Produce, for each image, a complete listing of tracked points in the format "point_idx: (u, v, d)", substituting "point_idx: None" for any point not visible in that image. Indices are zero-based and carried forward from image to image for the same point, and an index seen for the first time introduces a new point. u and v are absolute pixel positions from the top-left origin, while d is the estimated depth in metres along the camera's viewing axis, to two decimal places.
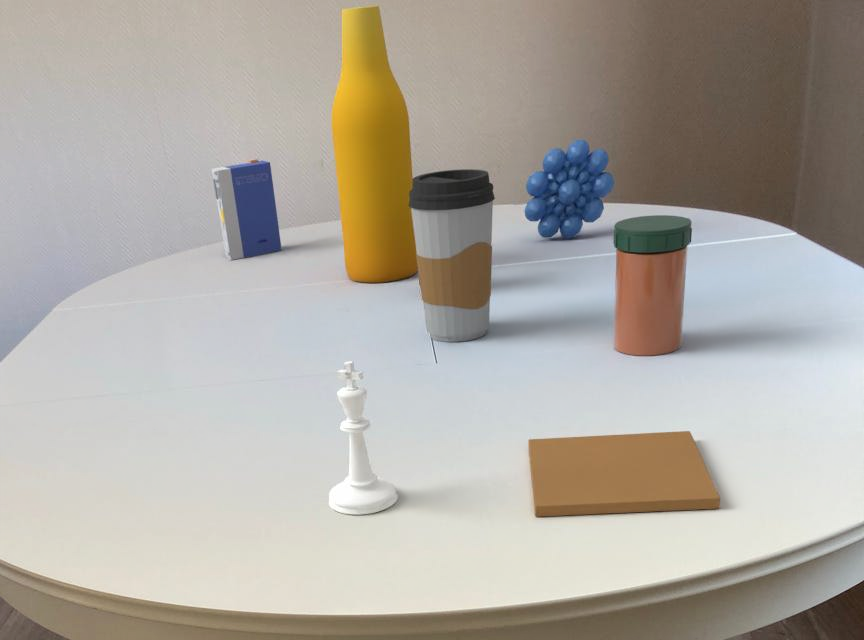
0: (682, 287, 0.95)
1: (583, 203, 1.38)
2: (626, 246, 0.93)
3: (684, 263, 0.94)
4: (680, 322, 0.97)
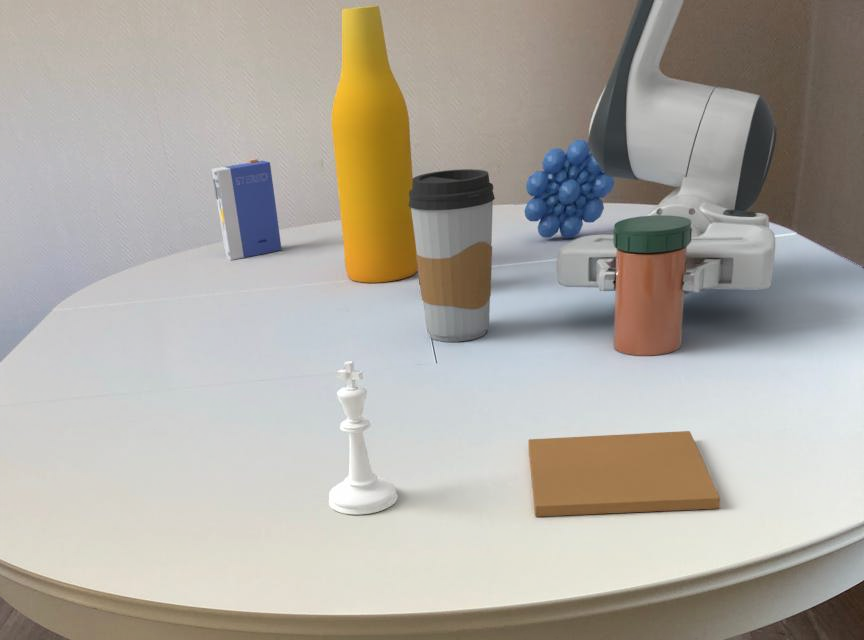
0: None
1: (583, 203, 1.38)
2: (626, 246, 0.93)
3: (684, 263, 0.94)
4: (680, 322, 0.97)
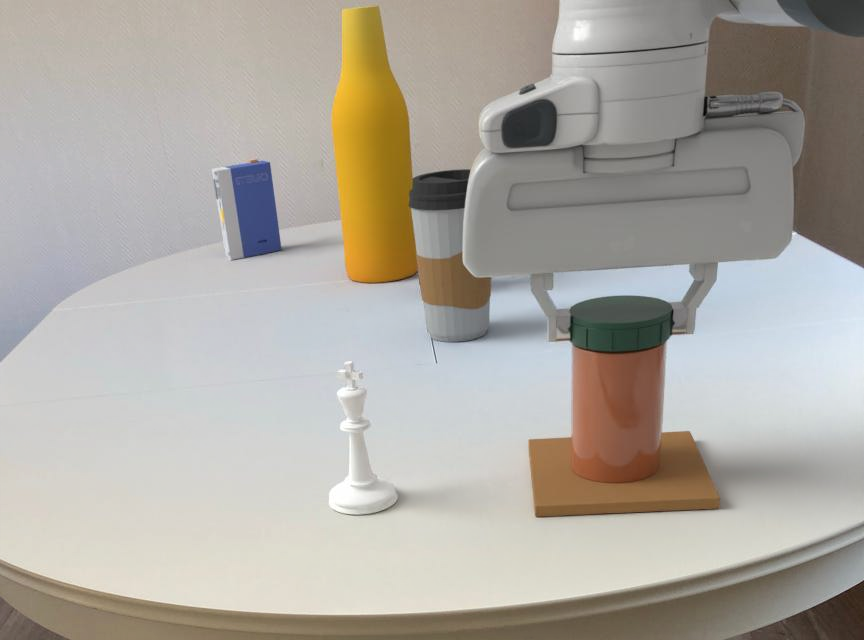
0: (660, 394, 0.70)
1: None
2: (583, 341, 0.68)
3: (663, 363, 0.69)
4: (658, 439, 0.72)
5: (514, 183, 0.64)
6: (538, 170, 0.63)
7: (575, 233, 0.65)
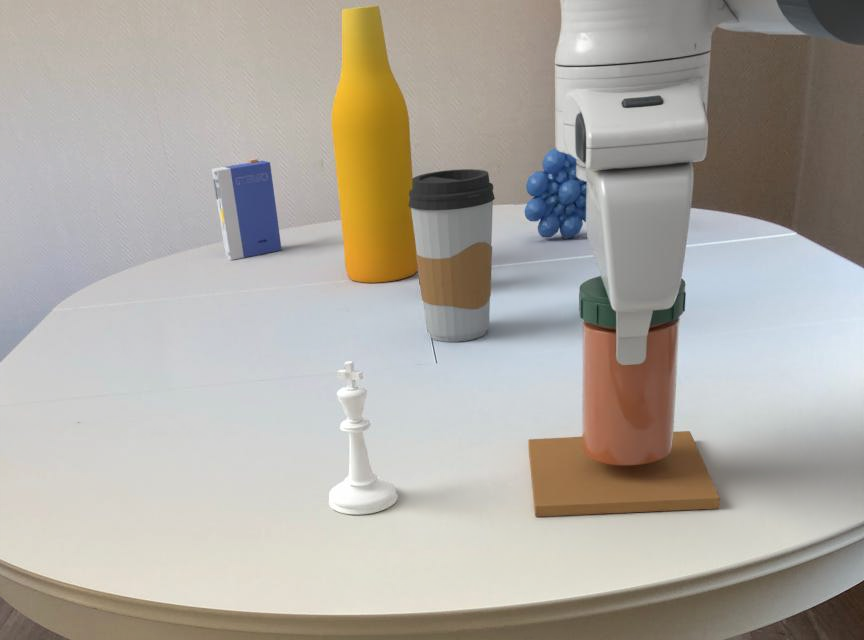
0: (673, 375, 0.69)
1: (583, 203, 1.38)
2: (670, 314, 0.66)
3: (675, 343, 0.68)
4: (671, 420, 0.71)
5: None
6: None
7: None
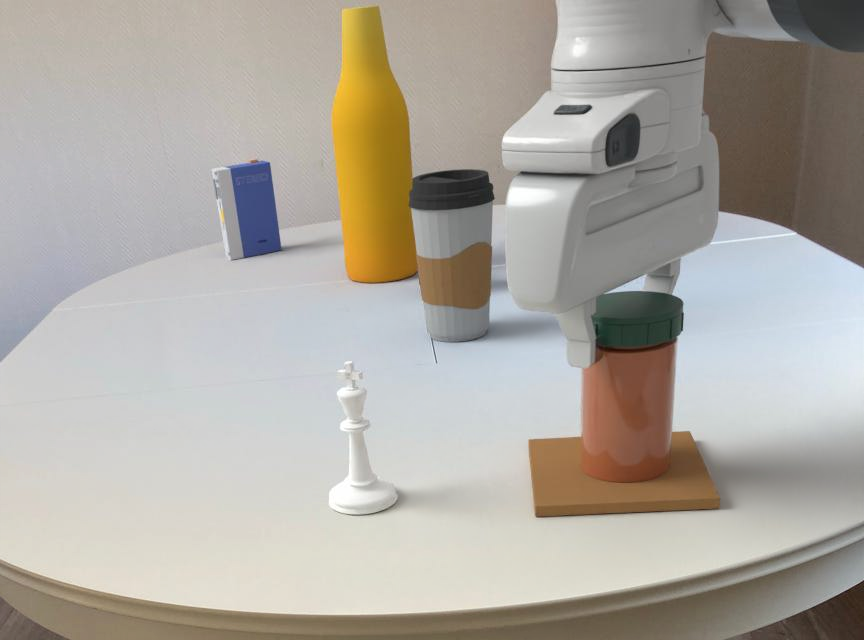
0: (671, 393, 0.70)
1: None
2: (668, 334, 0.67)
3: (673, 362, 0.69)
4: (668, 438, 0.72)
5: (588, 207, 0.60)
6: (613, 188, 0.60)
7: (622, 248, 0.64)
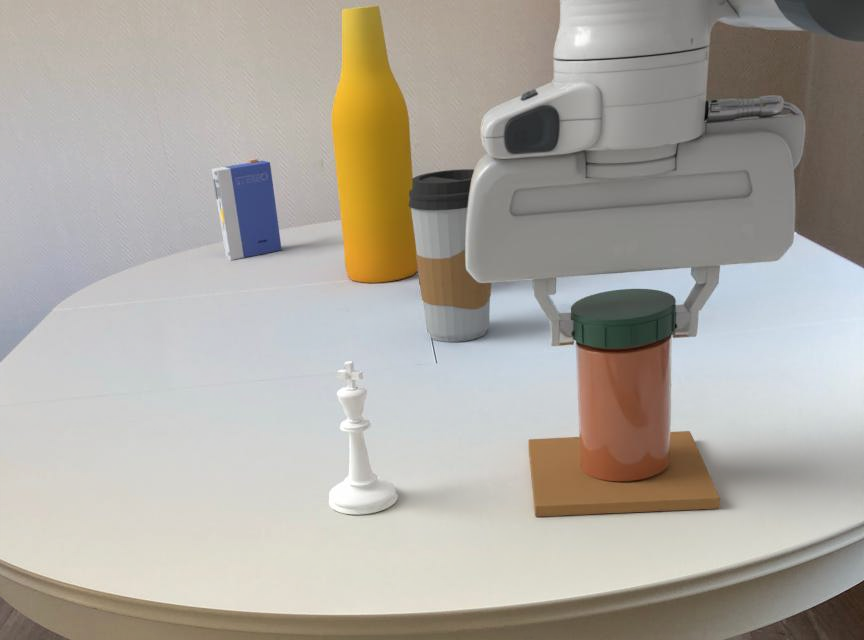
0: (667, 390, 0.70)
1: None
2: (654, 335, 0.67)
3: (668, 359, 0.69)
4: (667, 435, 0.72)
5: (516, 189, 0.64)
6: (541, 175, 0.63)
7: (578, 238, 0.65)
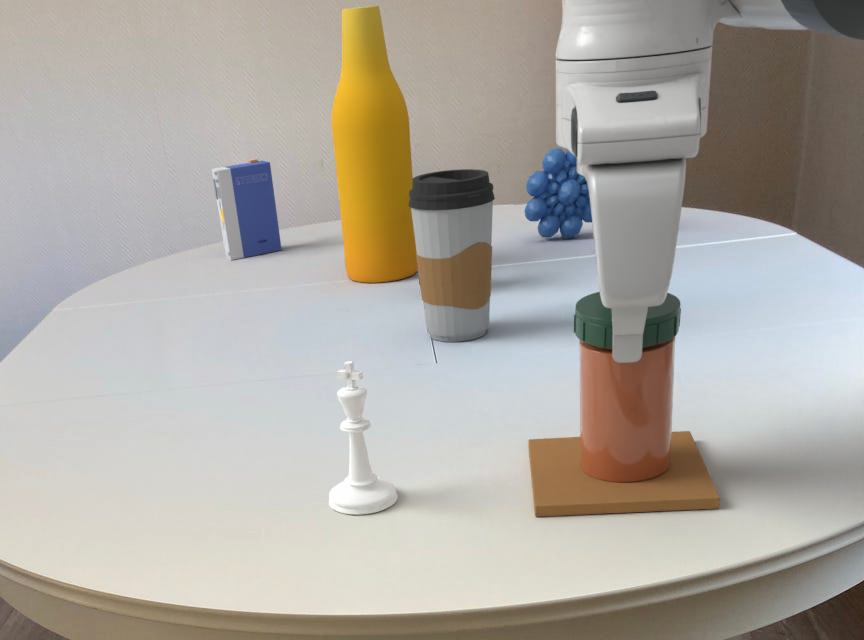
0: (669, 392, 0.70)
1: (583, 203, 1.38)
2: None
3: (671, 361, 0.69)
4: (668, 437, 0.72)
5: None
6: None
7: None
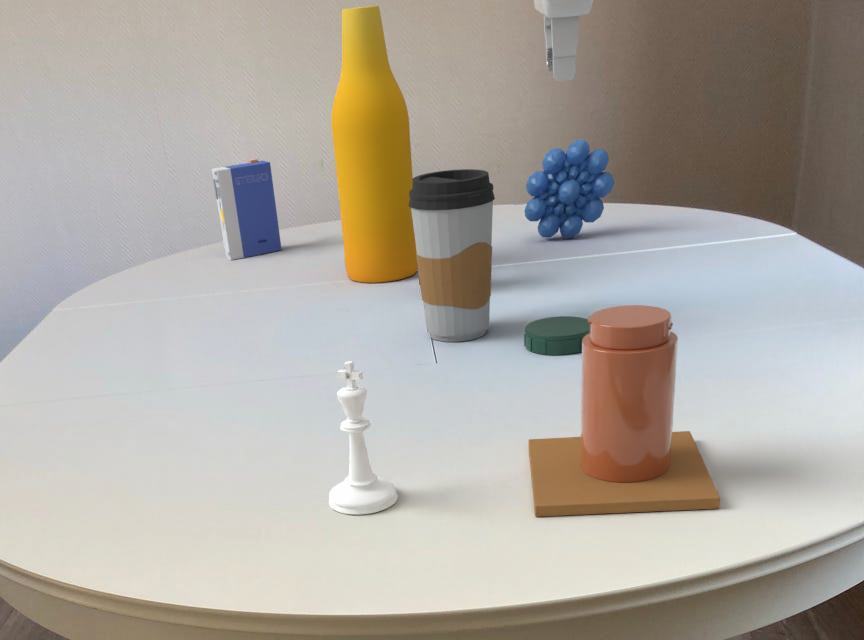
0: (671, 393, 0.70)
1: (583, 203, 1.38)
2: None
3: (673, 362, 0.69)
4: (668, 438, 0.72)
5: None
6: None
7: None
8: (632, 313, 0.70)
